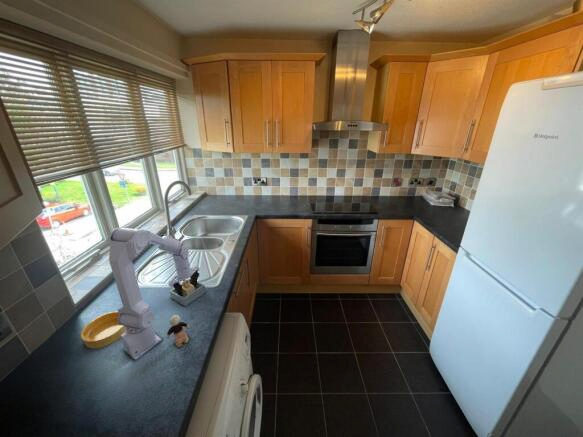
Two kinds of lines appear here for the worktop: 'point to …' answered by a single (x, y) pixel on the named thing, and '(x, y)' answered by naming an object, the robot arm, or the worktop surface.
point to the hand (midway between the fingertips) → (187, 290)
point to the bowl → (102, 330)
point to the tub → (188, 299)
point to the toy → (187, 288)
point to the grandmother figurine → (178, 330)
